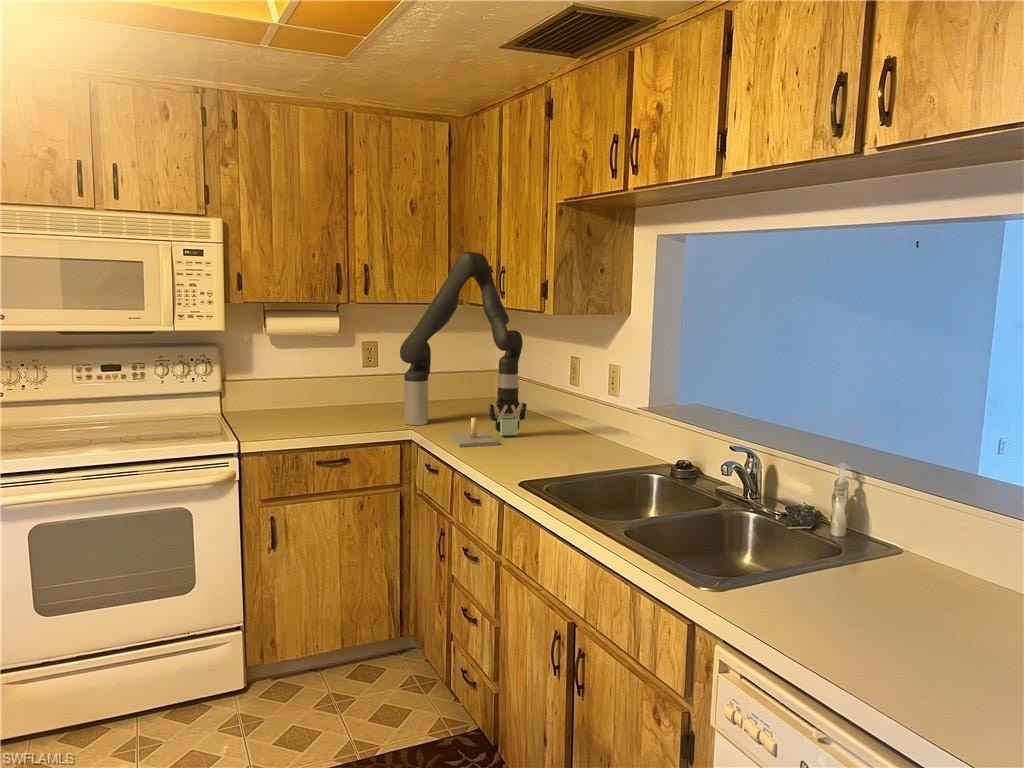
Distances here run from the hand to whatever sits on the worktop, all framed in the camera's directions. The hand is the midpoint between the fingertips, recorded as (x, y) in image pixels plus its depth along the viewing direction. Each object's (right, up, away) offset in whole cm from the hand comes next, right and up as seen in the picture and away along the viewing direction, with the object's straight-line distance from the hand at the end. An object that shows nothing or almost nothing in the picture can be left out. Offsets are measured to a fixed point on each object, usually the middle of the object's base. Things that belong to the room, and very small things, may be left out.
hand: (507, 431), depth 268 cm
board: (-12, -3, -9) cm, 15 cm away
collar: (0, -1, 0) cm, 1 cm away
